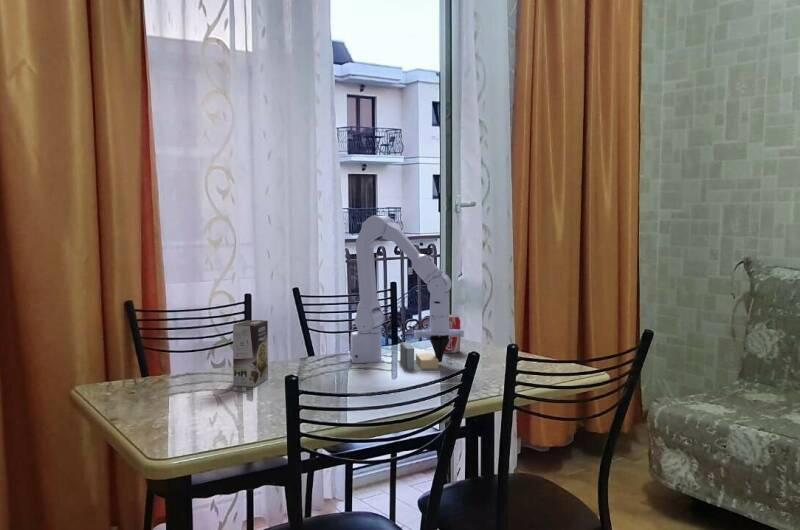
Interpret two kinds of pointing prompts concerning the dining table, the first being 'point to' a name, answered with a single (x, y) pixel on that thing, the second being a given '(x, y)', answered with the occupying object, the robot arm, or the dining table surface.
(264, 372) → the coffee box
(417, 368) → the grey l-shaped piece
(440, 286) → the robot arm
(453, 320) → the beverage can
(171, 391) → the dining table surface
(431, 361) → the pale yellow block
